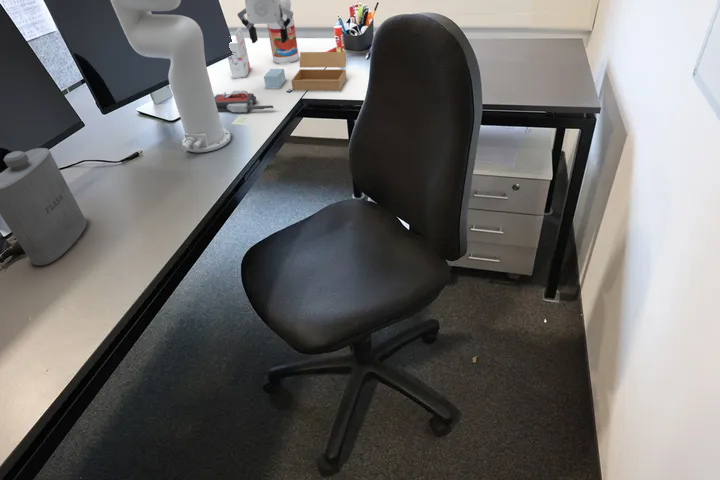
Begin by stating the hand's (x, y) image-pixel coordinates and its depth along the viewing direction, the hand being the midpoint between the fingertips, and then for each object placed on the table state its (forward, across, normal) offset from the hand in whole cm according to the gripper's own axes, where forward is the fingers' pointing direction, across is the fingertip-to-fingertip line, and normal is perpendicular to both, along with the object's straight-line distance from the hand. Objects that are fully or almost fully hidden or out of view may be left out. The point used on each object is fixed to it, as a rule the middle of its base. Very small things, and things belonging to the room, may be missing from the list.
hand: (269, 41), depth 150 cm
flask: (+16, -18, -84) cm, 87 cm away
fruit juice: (+13, -4, +24) cm, 28 cm away
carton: (+14, +15, 0) cm, 20 cm away
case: (+14, 0, 0) cm, 14 cm away
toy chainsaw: (+14, -4, -18) cm, 23 cm away
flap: (+7, +15, +6) cm, 17 cm away
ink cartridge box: (+14, -16, +10) cm, 24 cm away
